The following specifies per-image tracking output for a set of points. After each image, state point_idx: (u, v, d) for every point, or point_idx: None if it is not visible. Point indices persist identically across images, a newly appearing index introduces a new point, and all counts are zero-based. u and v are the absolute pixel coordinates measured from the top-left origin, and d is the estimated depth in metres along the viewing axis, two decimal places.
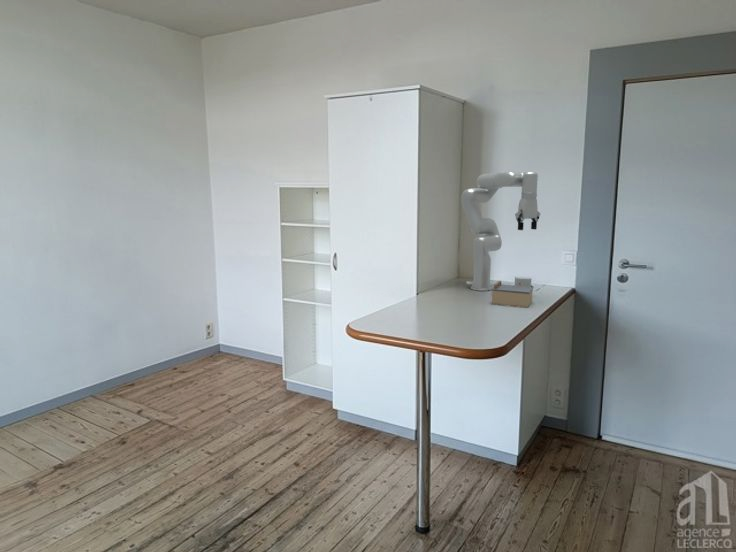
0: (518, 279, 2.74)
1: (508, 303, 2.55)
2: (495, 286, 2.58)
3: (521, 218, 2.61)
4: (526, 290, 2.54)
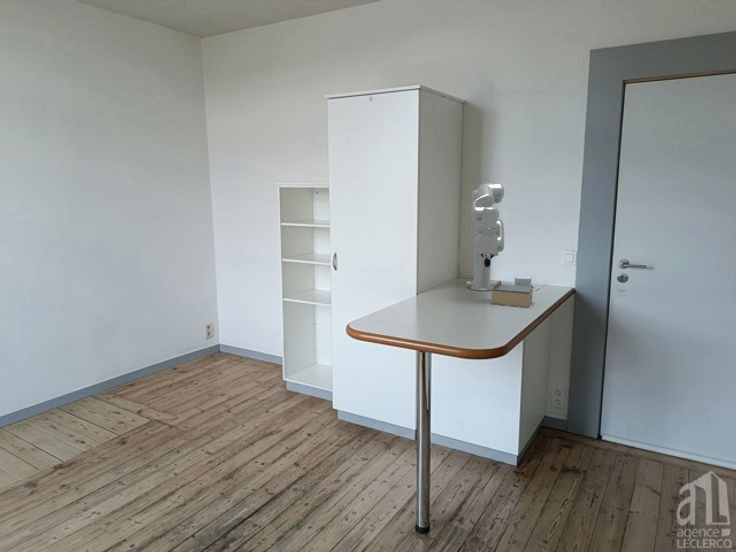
0: (518, 279, 2.74)
1: (508, 303, 2.55)
2: (495, 286, 2.58)
3: None
4: (526, 290, 2.54)
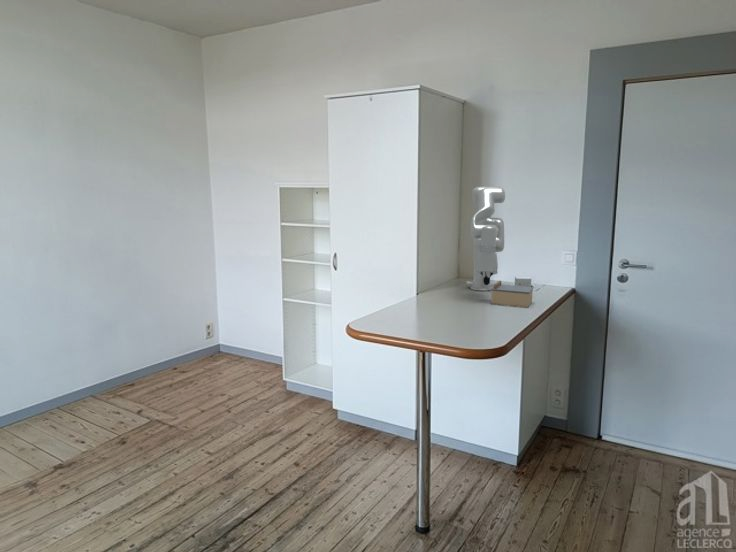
0: (518, 279, 2.74)
1: (508, 303, 2.55)
2: (495, 286, 2.58)
3: None
4: (526, 290, 2.54)
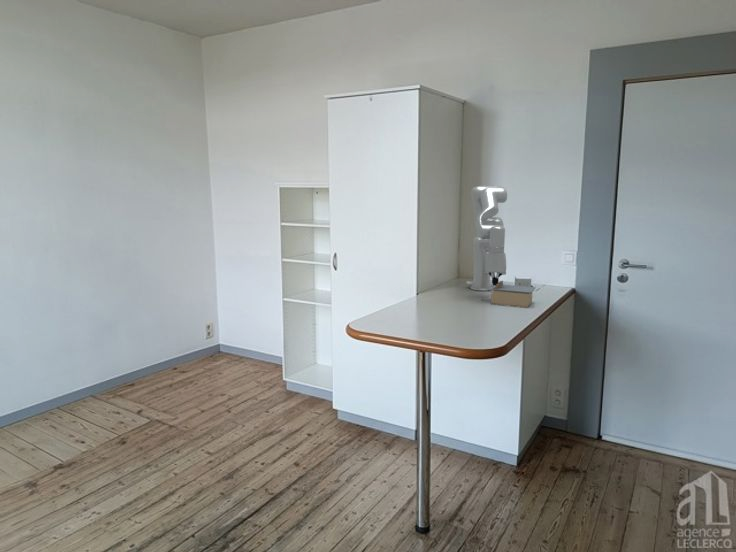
0: (518, 279, 2.74)
1: (508, 303, 2.55)
2: (497, 286, 2.57)
3: None
4: (528, 290, 2.53)
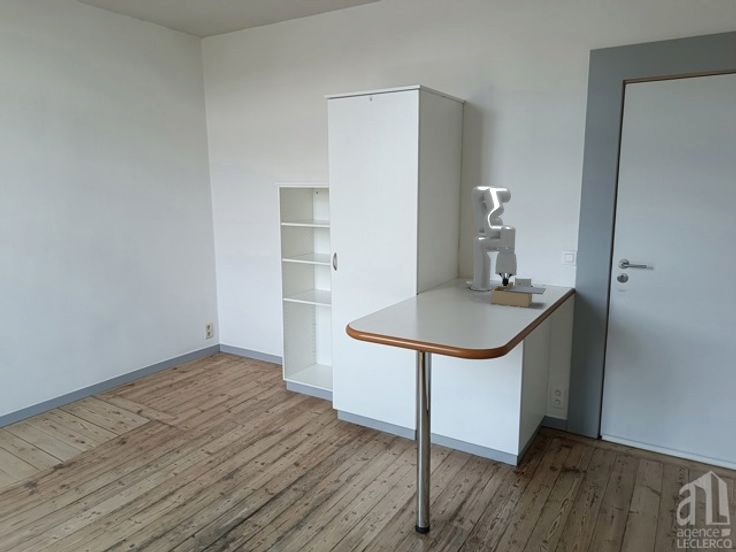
0: (518, 279, 2.74)
1: (508, 303, 2.55)
2: (507, 287, 2.55)
3: None
4: (539, 291, 2.51)
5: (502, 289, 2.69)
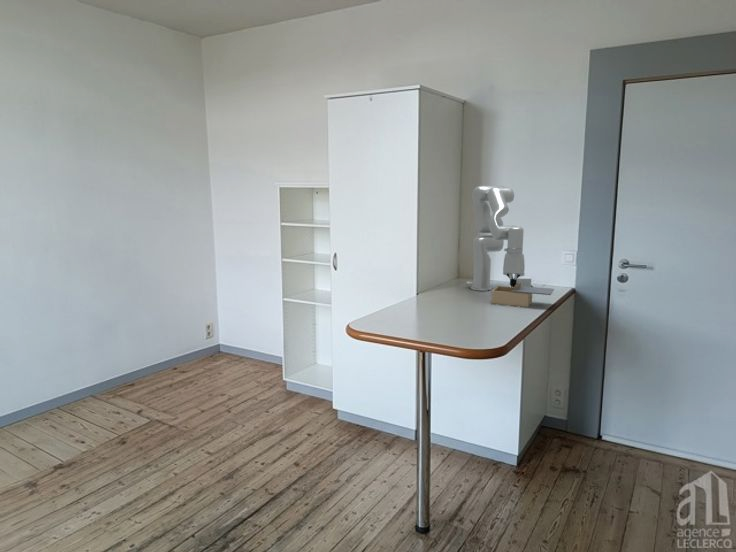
0: (518, 279, 2.74)
1: (508, 303, 2.55)
2: (515, 288, 2.53)
3: None
4: (547, 292, 2.49)
5: (502, 289, 2.69)
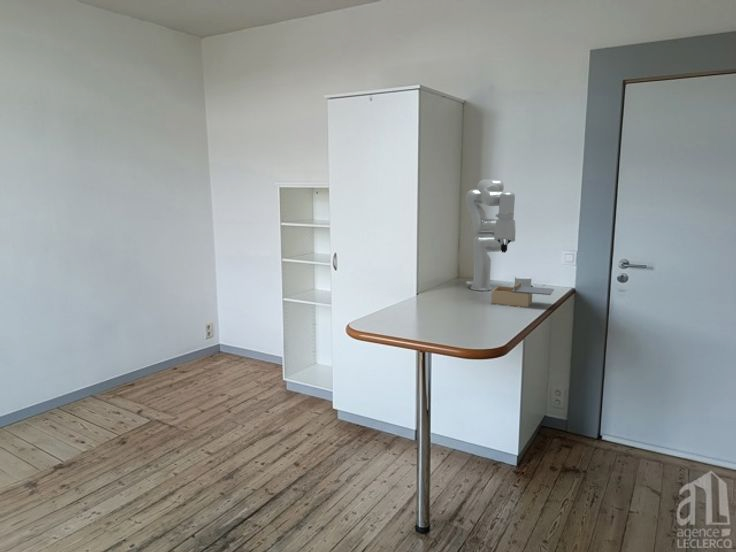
0: (518, 279, 2.74)
1: (508, 303, 2.55)
2: (515, 288, 2.53)
3: None
4: (547, 292, 2.49)
5: (502, 289, 2.69)
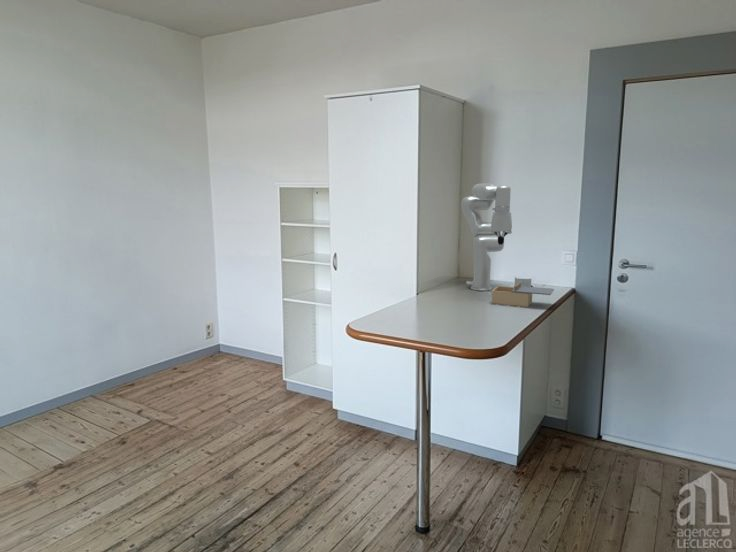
0: (518, 279, 2.74)
1: (508, 303, 2.55)
2: (515, 288, 2.53)
3: (503, 232, 2.67)
4: (547, 292, 2.49)
5: (502, 289, 2.69)
